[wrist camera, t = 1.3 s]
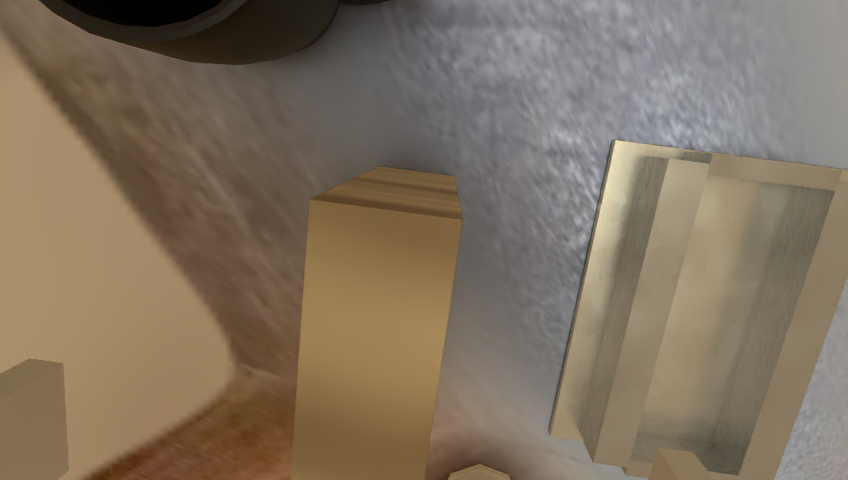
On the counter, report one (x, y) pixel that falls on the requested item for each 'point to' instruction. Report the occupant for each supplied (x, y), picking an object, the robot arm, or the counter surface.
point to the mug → (206, 25)
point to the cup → (478, 474)
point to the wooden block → (374, 324)
